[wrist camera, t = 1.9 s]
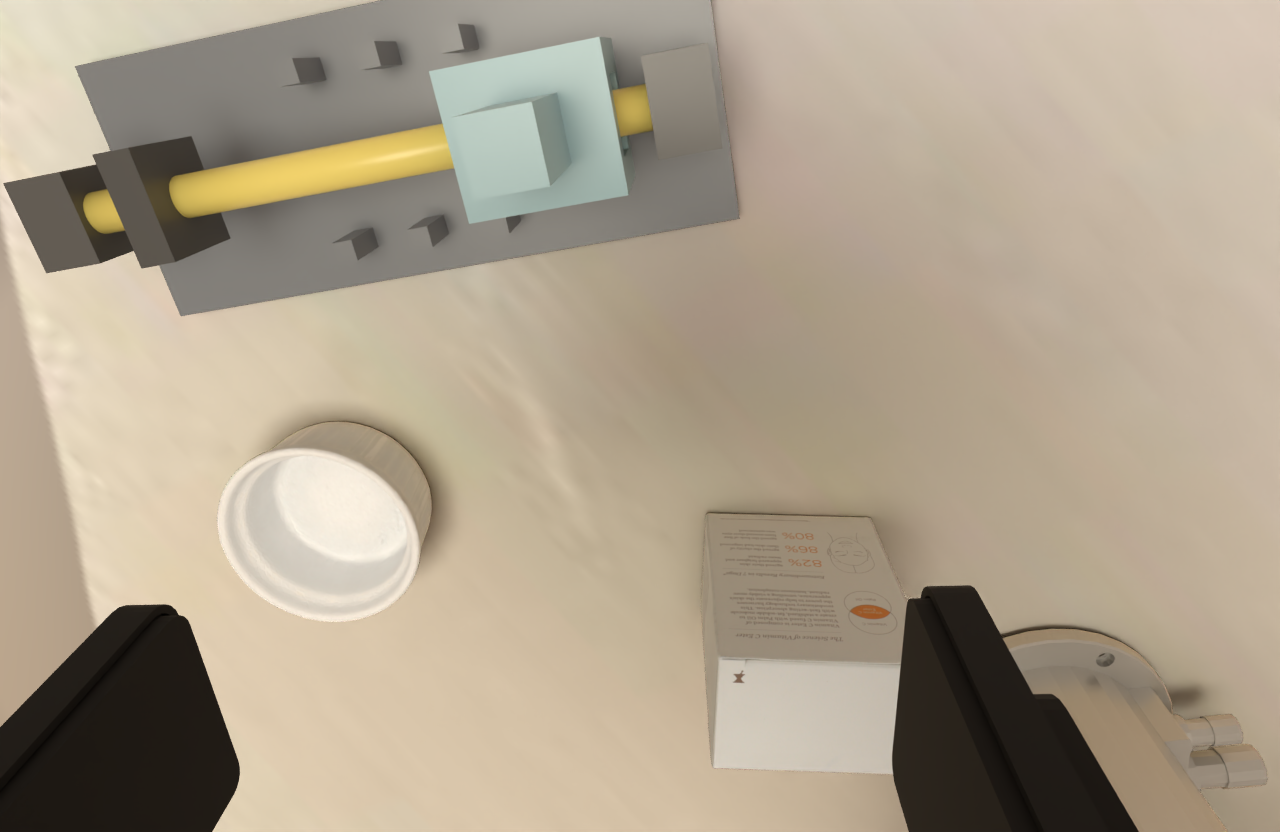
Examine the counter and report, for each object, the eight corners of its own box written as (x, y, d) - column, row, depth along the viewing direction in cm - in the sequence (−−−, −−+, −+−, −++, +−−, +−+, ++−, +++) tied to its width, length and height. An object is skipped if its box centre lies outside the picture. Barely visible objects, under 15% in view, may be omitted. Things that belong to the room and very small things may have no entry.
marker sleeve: (611, 37, 27) (582, 34, 19) (635, 174, 29) (618, 224, 21) (465, 67, 28) (377, 76, 20) (497, 199, 29) (429, 257, 21)
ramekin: (266, 388, 38) (218, 428, 34) (456, 433, 38) (431, 478, 34) (257, 546, 41) (212, 599, 37) (431, 585, 42) (405, 641, 38)
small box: (699, 604, 41) (705, 772, 32) (704, 508, 39) (713, 658, 30) (859, 610, 41) (914, 782, 32) (874, 514, 39) (938, 667, 29)
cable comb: (700, -65, 29) (708, -104, 22) (738, 213, 33) (755, 263, 26) (92, 65, 32) (-89, 71, 25) (193, 309, 36) (64, 379, 28)
